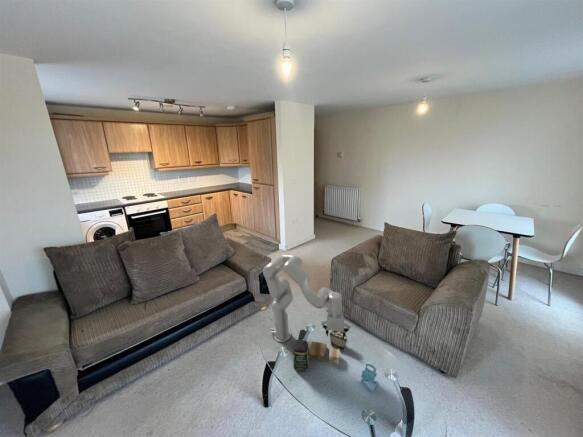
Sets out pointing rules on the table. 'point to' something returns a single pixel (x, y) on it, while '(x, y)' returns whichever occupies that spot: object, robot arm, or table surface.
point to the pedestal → (317, 350)
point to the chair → (369, 376)
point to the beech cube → (334, 356)
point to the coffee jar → (301, 355)
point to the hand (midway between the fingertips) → (335, 335)
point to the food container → (338, 340)
